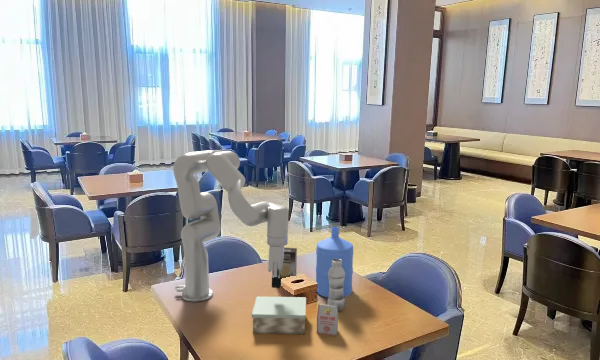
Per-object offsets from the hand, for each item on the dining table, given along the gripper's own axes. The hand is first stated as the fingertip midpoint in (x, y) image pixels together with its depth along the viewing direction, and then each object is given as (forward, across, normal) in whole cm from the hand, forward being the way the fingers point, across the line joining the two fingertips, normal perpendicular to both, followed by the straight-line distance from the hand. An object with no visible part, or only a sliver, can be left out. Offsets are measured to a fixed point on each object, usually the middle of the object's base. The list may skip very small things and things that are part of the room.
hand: (276, 286), depth 167 cm
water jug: (+12, -25, +23) cm, 36 cm away
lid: (+6, +5, +2) cm, 8 cm away
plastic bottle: (+12, -8, +23) cm, 27 cm away
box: (+12, +5, +2) cm, 13 cm away
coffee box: (+13, -32, +2) cm, 34 cm away
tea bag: (+12, +10, +19) cm, 25 cm away
